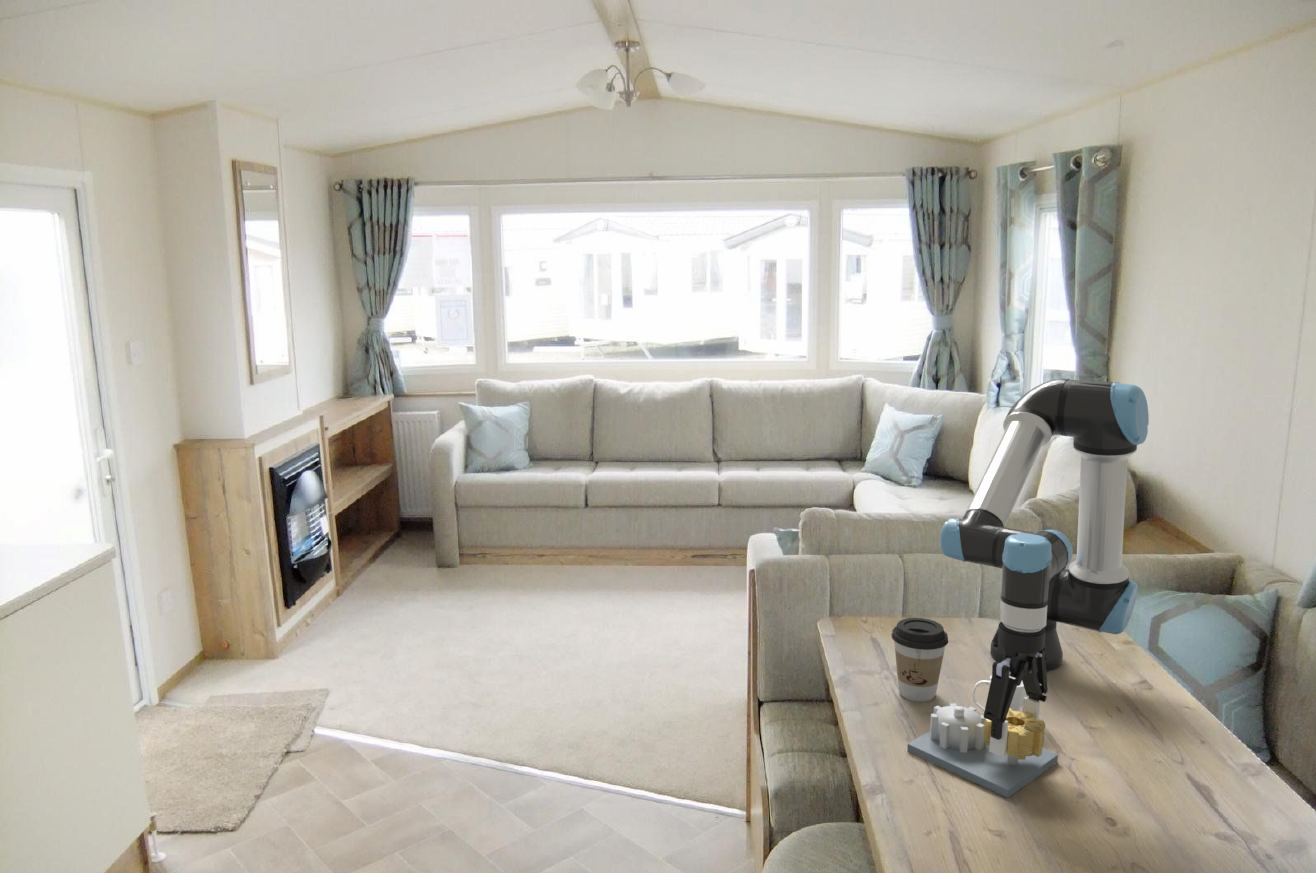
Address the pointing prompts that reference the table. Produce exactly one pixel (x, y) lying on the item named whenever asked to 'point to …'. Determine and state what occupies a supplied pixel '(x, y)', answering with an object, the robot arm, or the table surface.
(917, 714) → the table surface
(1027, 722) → the brass gear
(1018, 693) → the cup
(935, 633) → the coffee cup
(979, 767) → the gear board
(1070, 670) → the table surface
